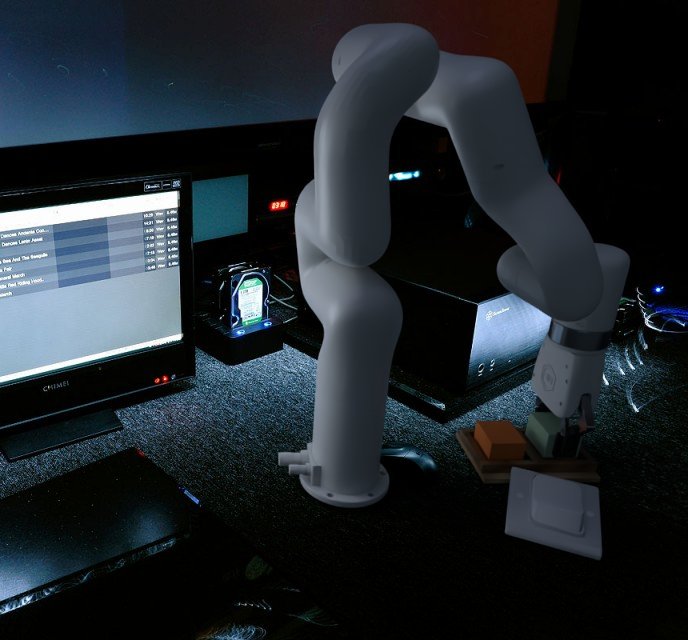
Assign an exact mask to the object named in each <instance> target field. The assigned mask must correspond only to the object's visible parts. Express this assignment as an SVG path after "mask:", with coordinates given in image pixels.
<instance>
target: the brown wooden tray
mask: <svg viewBox="0 0 688 640" xmlns="http://www.w3.org/2000/svg"><path fill="white" fill-rule="evenodd" d="M526 428H527V427H515V429H516V430H517V431H518V432H519V434H520V435H521V436H522V438H523V439H524V440H525V442H526V443H527V444H526V448H525V453H524V458H523V460H497V461H487V459H486V458H485V456H484V455H483V453H482V452H481V450H480V448H479V447H478V445H477V444H476V442H475V441H474V433H475V427H474V428H473V427H466V428H465V427H461V428H460V429H459V431H456V432H455V437H456V439H457V441H458V443H459V444H460V446H461V447H462V449H463V452H464V453H465V455H466V456H467V457H468V459H469V461H470V463H471V464H472V466H473V467H474V469H475V471H476V473H477V474H478V476H479V477H480V479H481V481H482V482H483V484H510V475H511V469H512V467H517V468H521V469H525V470H529V471H533V472H537V473H542V474H546V475H550V476H554V477H558V478H562V479H566V480H570V481H574V482H578V483H582V484H584V483H600V482H601V476H600V475H599V474H598V473H597V469H598V467H599V463H598V461H596V459H594V457H593V456H592V454H590V453H589V452H588V451H587V449H586V448H585V447H584V446H583V445H582V444H581V446H580V449H579V453H578V457H573V458H555V457H543V456H542V455H541V454H540V452H539V451H538V450H537V449H536V447H535V446H534V445H533V444H532V442H531V441H530V440H529V439H528V437H527V436H526V435H525V433H526Z"/></svg>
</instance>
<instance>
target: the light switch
mask: <svg viewBox="0 0 688 640" xmlns="http://www.w3.org/2000/svg"><path fill="white" fill-rule="evenodd" d="M508 486H509V487H508V495H507V496H508V497H507V506H506V517H505V527H504V528H505V529H504V534H505V535H508V536H511V537H515V538H519V539H521V540H522V539H523V540H525V541H528V542H533V543H535V544H539V545H544V546H546V547H550V548H554V549H556V550H561V551H564V552H568V553H571V554H575V555H578V556H582V557H586V558H589V559H593V560H595V561H601V559H602V556H603V543H602V542H603V541H602V523H601V507H600V506H601V505H600V490H599V488H598V487H597V486H594V485H590V484H586V483H578V482H574V481H570V480H566V479H562V478H558V477H554V476H550V475H546V474H542V473H537V472H533V471H529V470H525V469H521V468H517V467H512V469H511V475H510V483H509V485H508Z"/></svg>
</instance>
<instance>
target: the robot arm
mask: <svg viewBox="0 0 688 640" xmlns="http://www.w3.org/2000/svg"><path fill="white" fill-rule="evenodd" d="M331 70H332V76H333V78H334V80H335V84H334V85H333V87H332V89H331V90H330V91H329V94H328V95H327V97H326V99H325V100H324V103H323V104H322V106H321V108H320V111H319V113H318V116H317V121H316V123H315V129H314V135H313V170H314V173H313V175H314V178H313V179H312V180H311V181H310V182H309V183H307V184H306V185H305V186H304V188H303V190H301V192H300V194H299V196H298V199H297V201H296V205H295V212H294V229H295V230H294V231H295V240H296V241H295V242H296V248H297V249H296V250H297V262H298V270H299V279H300V286H301V290H302V295H303V297H304V299H305V301H306V303H307V305H308V306H309V307H310V309H311V310H312V311H313V313H314V314H315V315H316V317H317V319H318V320H319V321H320V323H321V324H322V327H323V340H322V344H321V347H320V351H319V352H318V357H317V362H316V363H317V365H316V373H315V391H314V392H315V393H314V394H315V395H314V408H313V410H314V411H313V426H312V442H307V444H306V449H300V451H299V452H291V451H289V452H288V451H284V452H283V451H282V452H281V451H280V452H278V455H277V457H278V466H280V467H288V475H289V476H290V475H291V476H292V475H294V476H295V475H297V476H298V475H299V481H300V484H301V486H302V487H303V489H304V490H305V491H306V492H307V493H308V494H309V495H310V496H312V497H313V498H315V499H317V500H318V501H320V502H322V503H325V504H327V505H330V506H334V507H339V508H346V509H348V508H349V509H357V508H364V507H368V506H372V505H374V504H376V503H378V502H380V501H381V500H382V499H383V498H384V497H385V496H386V495H387V493H388V490H389V488H390V476H389V472H388V470H387V469H386V468H385V466H384V465H383V464H382V463H381V457H382V449H383V439H384V438H383V437H384V431H385V420H386V413H387V411H386V410H387V404H388V403H387V402H388V395H389V385H390V378H391V377H390V376H391V368H392V362H393V357H394V354H395V350H396V347H397V343H398V341H399V338H400V336H401V335H400V334H401V331H402V327H403V320H404V313H403V306H402V303H401V300H400V298H399V297H398V295H397V292H396V291H395V289H393V287H392V286H391V284H389V283H388V281H386V280H385V279H384V278H383V277H382V276H381V275H379V273H378V272H376V271H375V270H374V269H372V268H371V267H370V266H371V265H372V264H374V263H376V262H377V261H378V260H380V259H381V258H382V257H383V255H384V254H385V252H386V250H387V249H388V246H389V244H390V241H391V235H392V234H391V232H392V215H391V193H390V192H391V191H390V171H389V169H390V167H389V166H390V147H391V141H392V137H393V136H394V132H395V129H396V127H397V126H398V124H399V122H400V121H401V119H403V116H405V117H409V118H412V119H416V120H419V121H423V122H426V123H430V124H433V125H436V126H440V127H443V128H446V129H447V131H448V133H449V135H450V138H451V142H452V143H453V146H454V148H455V151H456V153H457V156H458V159H459V160H460V165H461V167H462V169H463V172H464V175H465V178H466V180H467V184H468V186H469V189H470V192H471V194H472V196H473V198H474V200H475V201H476V202H477V204H478V206H480V208H481V209H482V210H483V211H484V212H485V213H486V214H487V215H488V217H490V219H492V221H494V222H495V223H496V224H497V225H498V226H500V228H502V229H503V230H504V231H505V232H506V233H507V234H508V235H509V236H510V237H511V238H512V239H513V240H514V242H515V243H516V244H515V245H513V246H511V247H509V248H508V249H506V250H505V251H504V252H503V253H502V255H501V256H500V258H499V259H498V262H497V265H496V275H497V278H498V280H499V283H500V284H501V285H502V286H503V288H505V289H506V290H507V291H508V292H510V293H511V294H512V295H514V296H515V297H518V299H520V300H522V301H524V302H525V303H527V304H529V305H531V306H532V307H533V308H535V309H537V310H538V311H540V312H541V313H542V314H544V315H546V316H547V317H549V318H550V323H549V327H548V331H547V332H546V334H545V336H544V338H543V341H542V343H541V346H540V348H539V350H538V354H537V357H536V361H535V364H534V367H533V372H532V376H531V379H530V387H531V390H532V391H533V392H534V393H535V395H536V398H535V401H534V404H535V406H536V407H535V410H534V412H553V413H554V414H555V415H556V416H557V417H559V418H561V432H557V434H556V438H555V442H554V447H553V451H552V455H553V456H554V457H555V458H573V457H575V456H576V453H577V449H578V445H579V441H580V437H581V436H583V437H584V436H585V435H587V434H588V433H590V432H594V431H595V430H596V423H595V417H594V414H595V412H596V410H597V406H598V403H599V399H600V395H601V390H602V385H603V380H604V373H605V364H606V352H607V351H608V349H609V345H610V342H611V338H612V333H613V330H614V326H615V323H616V319H617V316H618V312H619V308H620V304H621V300H622V296H623V293H624V289H625V286H626V281H627V277H628V274H629V270H630V265H631V258H630V255H629V254H628V252H626V251H625V250H623V249H622V248H619V247H617V246H614V245H611V244H606V243H598V242H594V240H593V237H592V235H591V233H590V231H589V229H588V228H587V226H586V224H585V222H584V221H583V218H581V216H580V215H579V214H578V212H577V210H576V209H575V208H574V206H573V205H572V203H571V202H570V201H569V199H568V198H567V197H566V195H565V193H564V192H563V190H562V189H561V188H560V186H559V184H558V183H556V181H555V180H554V179H553V177H552V176H551V175H550V173H549V171H548V169H547V167H546V163H545V161H544V158H543V155H542V151H541V148H540V146H539V143H538V140H537V137H536V133H535V130H534V127H533V124H532V120H531V118H530V114H529V110H528V107H527V104H526V101H525V98H524V95H523V91H522V88H521V86H520V83H519V81H518V78H517V76H516V74H515V72H514V70H513V69H512V68H511V67H510V66H509V65H508V64H507V63H505V62H504V61H502V60H499V59H496V58H494V57H489V56H488V57H487V56H478V55H477V56H476V55H463V54H456V53H451V52H447V51H443V50H440V47H439V44H438V41H437V39H436V38H435V37H434V36H433V34H431V32H429V31H428V30H427V29H425V28H423V27H422V26H419V25H416V24H412V23H406V22H405V23H404V22H388V23H387V22H386V23H368V24H367V23H366V24H361V25H358V26H356V27H354V28H352V29H351V30H349V31H348V32H346V33H345V34H344V35H343V36H342V37H341V38H340V39H339V41H338V42H337V44H336V46H335V48H334V50H333V54H332V58H331ZM576 410H577V412H576ZM569 419H570V420H575V422H576V423H575V424H574V425H572V426H569Z"/></svg>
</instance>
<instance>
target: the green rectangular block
mask: <svg viewBox="0 0 688 640" xmlns="http://www.w3.org/2000/svg"><path fill="white" fill-rule="evenodd" d="M527 420H528V421H527V424H526V427H525V428H526V433H525V435H526V436H527V437H528V439H529V440H530V441H531V442H532V444H533V445H534V446H535V447H536V449H537V450H538V451H539V452H540V454H541V455H542V456H543V457H554V456H553V455H552V451H553V447H554V442H555V438H556V434H557V432H561V418H559V417H557V416H556V415H555V414H554V413H553V412H535V411H530V412H529V415H528V419H527ZM572 425H575V424H574V422H573V421H572V419H569V426H572ZM583 438H584V436H581V437H580V441H579V445H578V449H577V453H576V456H575V457H578V453H579V449H580V446H581V445H582V442H583Z"/></svg>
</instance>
